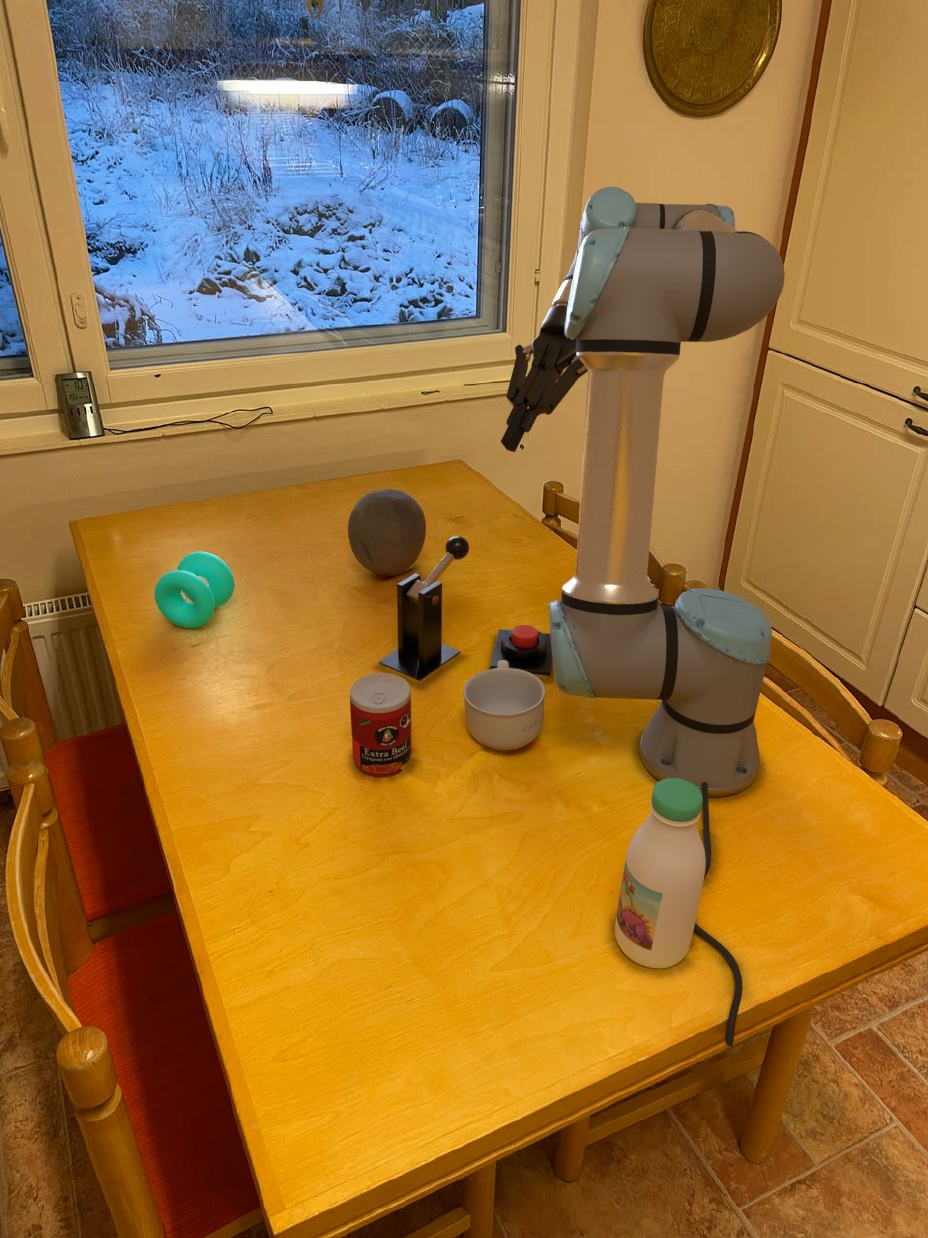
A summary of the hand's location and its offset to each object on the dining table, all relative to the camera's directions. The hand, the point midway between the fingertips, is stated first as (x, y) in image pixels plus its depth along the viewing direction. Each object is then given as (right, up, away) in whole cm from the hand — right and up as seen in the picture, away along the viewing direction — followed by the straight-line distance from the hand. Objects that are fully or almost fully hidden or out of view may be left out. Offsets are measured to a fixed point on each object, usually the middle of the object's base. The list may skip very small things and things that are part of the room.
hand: (507, 446), depth 139 cm
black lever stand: (-13, -33, -1) cm, 36 cm away
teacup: (-1, -42, -15) cm, 45 cm away
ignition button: (+2, -30, -1) cm, 30 cm away
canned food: (-17, -45, -21) cm, 53 cm away
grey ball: (-21, -18, +26) cm, 37 cm away
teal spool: (-50, -26, +10) cm, 58 cm away
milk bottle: (+13, -60, -45) cm, 76 cm away
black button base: (+2, -33, +1) cm, 33 cm away
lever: (-10, -20, -3) cm, 23 cm away
